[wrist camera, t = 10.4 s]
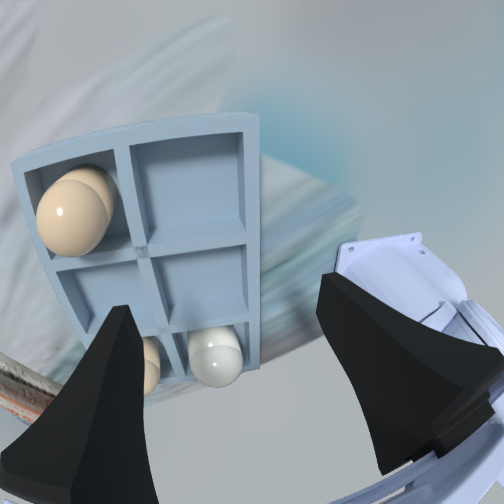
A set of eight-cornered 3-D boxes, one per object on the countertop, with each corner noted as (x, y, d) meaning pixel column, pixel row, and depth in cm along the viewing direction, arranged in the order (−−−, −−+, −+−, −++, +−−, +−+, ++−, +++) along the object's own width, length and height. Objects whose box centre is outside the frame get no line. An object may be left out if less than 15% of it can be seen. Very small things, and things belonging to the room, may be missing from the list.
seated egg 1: (152, 323, 21) (152, 376, 17) (164, 354, 23) (167, 403, 19) (106, 329, 20) (99, 380, 16) (122, 358, 22) (120, 406, 18)
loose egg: (112, 157, 14) (85, 185, 10) (124, 221, 16) (108, 267, 12) (52, 171, 13) (13, 204, 9) (68, 231, 15) (40, 277, 11)
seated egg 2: (233, 312, 22) (247, 363, 18) (236, 344, 24) (249, 391, 20) (182, 320, 21) (187, 372, 17) (191, 351, 23) (197, 400, 19)
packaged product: (94, 430, 23) (74, 447, 25) (96, 395, 27) (77, 418, 29) (-46, 358, 14) (-39, 391, 16) (-32, 326, 18) (-30, 364, 20)
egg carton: (245, 111, 15) (258, 115, 13) (251, 343, 26) (259, 368, 24) (33, 150, 13) (10, 162, 10) (113, 361, 23) (111, 387, 21)
